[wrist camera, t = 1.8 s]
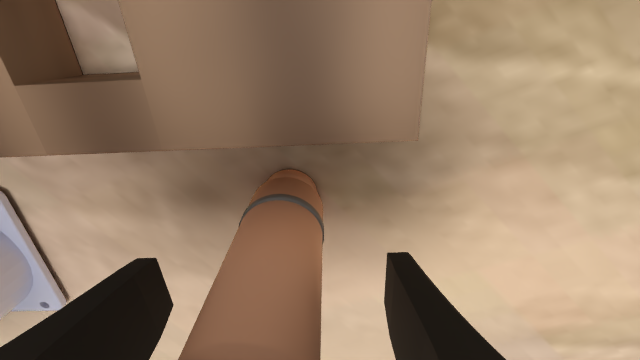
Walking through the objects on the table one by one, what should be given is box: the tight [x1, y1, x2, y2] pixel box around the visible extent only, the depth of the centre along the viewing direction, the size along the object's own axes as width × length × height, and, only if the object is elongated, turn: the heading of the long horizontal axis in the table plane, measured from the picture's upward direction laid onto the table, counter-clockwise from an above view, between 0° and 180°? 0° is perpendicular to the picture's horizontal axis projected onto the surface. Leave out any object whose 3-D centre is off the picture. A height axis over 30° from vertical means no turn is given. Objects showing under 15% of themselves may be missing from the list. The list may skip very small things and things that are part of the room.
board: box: [0, 0, 432, 157], centre depth 10 cm, size 20×9×3 cm, turn 93°
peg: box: [178, 169, 324, 360], centre depth 11 cm, size 3×3×9 cm
